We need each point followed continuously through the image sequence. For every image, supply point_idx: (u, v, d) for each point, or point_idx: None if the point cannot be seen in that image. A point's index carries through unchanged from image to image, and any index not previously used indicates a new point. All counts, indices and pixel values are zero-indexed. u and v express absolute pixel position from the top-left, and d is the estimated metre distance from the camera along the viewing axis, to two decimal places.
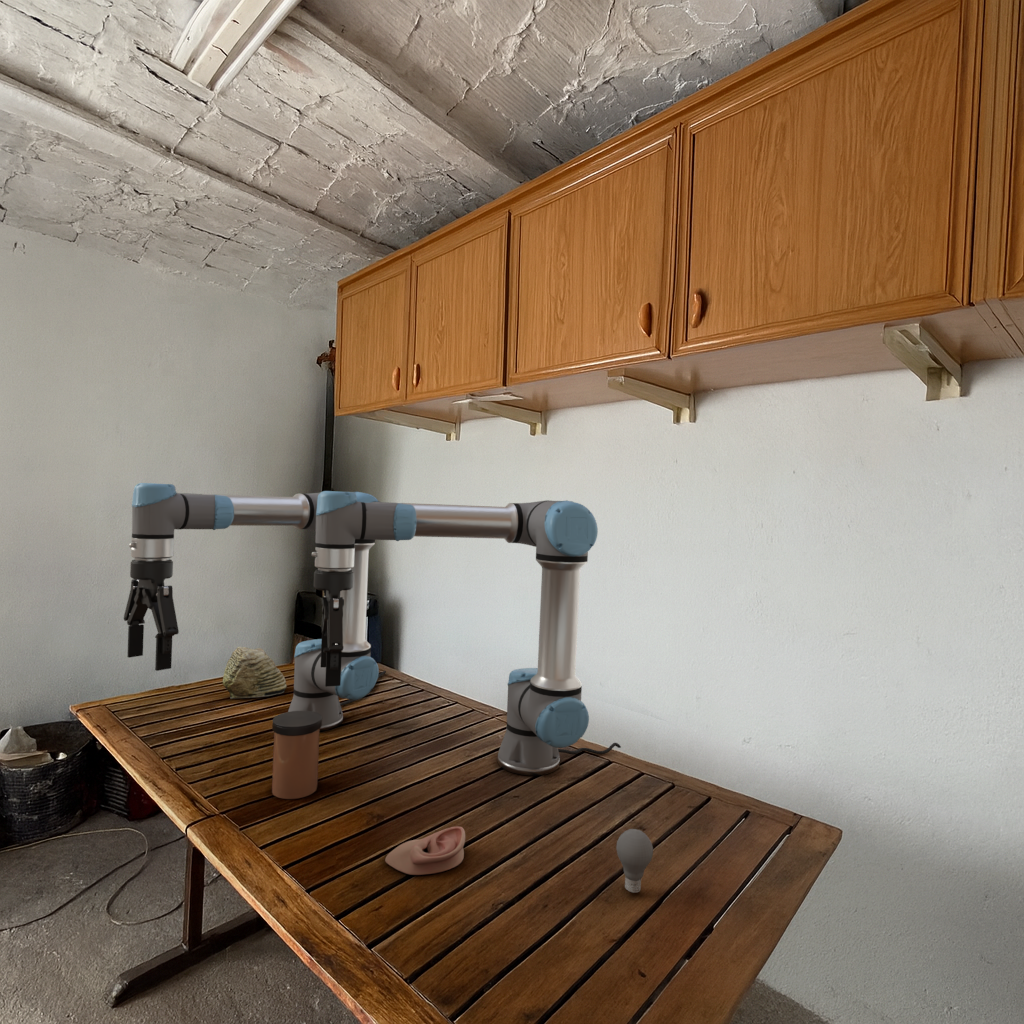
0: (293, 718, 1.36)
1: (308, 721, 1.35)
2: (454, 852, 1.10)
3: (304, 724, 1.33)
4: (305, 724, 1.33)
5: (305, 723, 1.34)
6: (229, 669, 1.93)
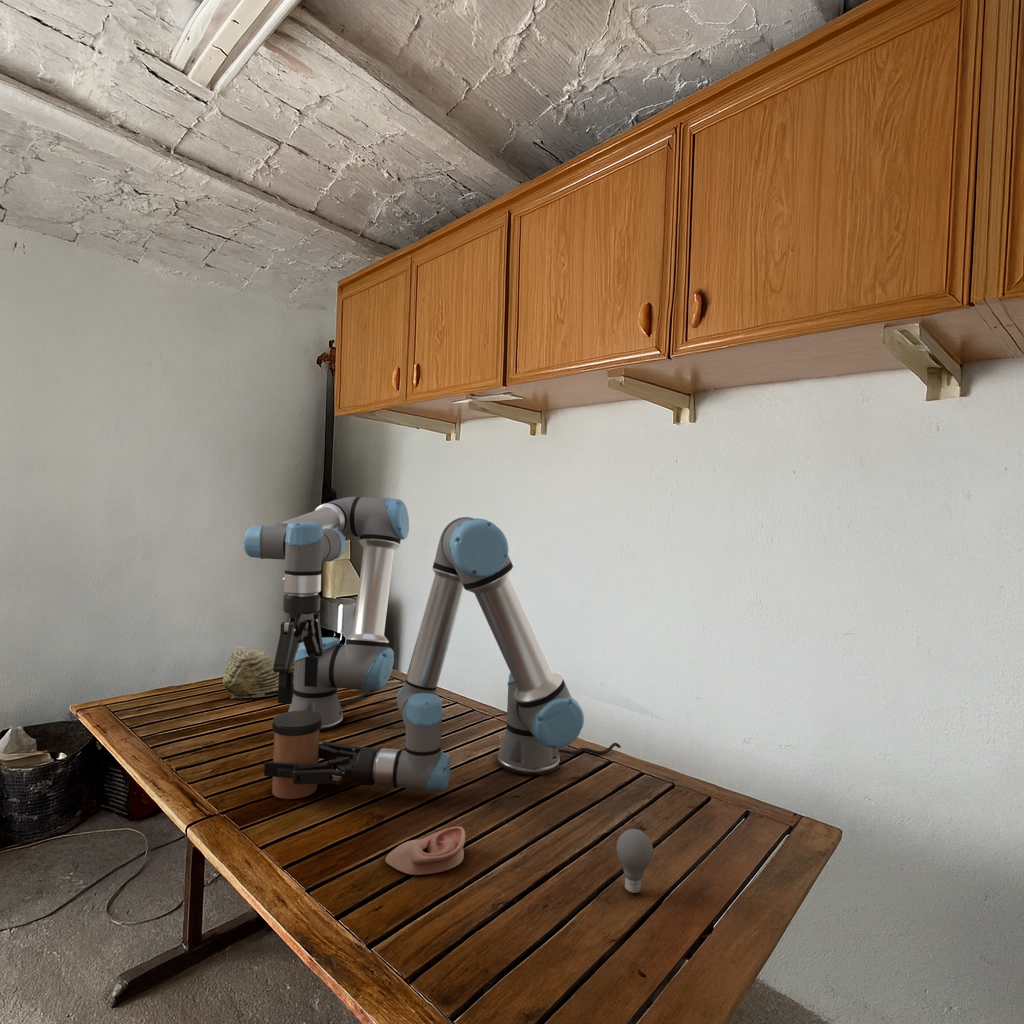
0: (293, 718, 1.36)
1: (308, 721, 1.35)
2: (454, 852, 1.10)
3: (304, 724, 1.33)
4: (305, 724, 1.33)
5: (305, 723, 1.34)
6: (229, 669, 1.93)
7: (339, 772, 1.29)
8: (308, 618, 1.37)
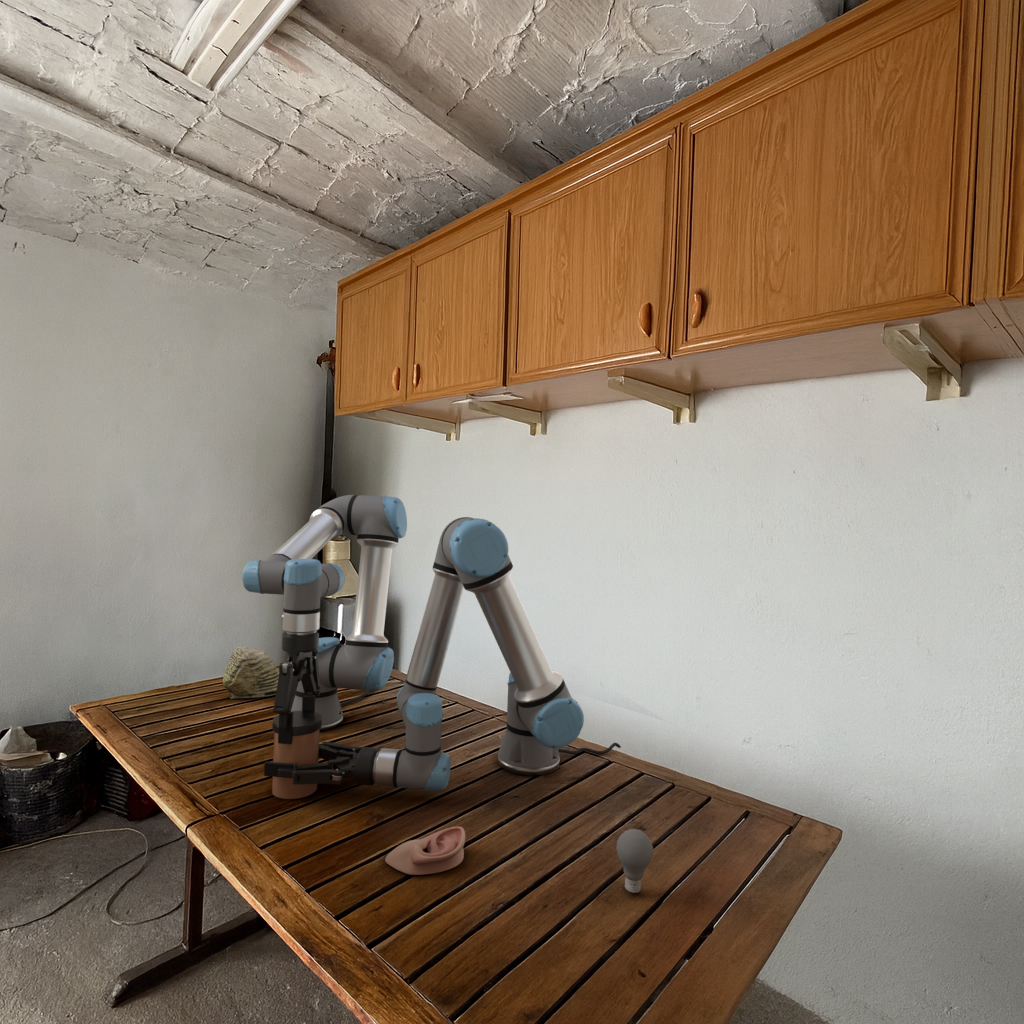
0: (293, 718, 1.36)
1: (308, 721, 1.35)
2: (454, 852, 1.10)
3: (304, 724, 1.33)
4: (305, 724, 1.33)
5: (305, 723, 1.34)
6: (229, 669, 1.93)
7: (339, 772, 1.29)
8: (307, 655, 1.37)
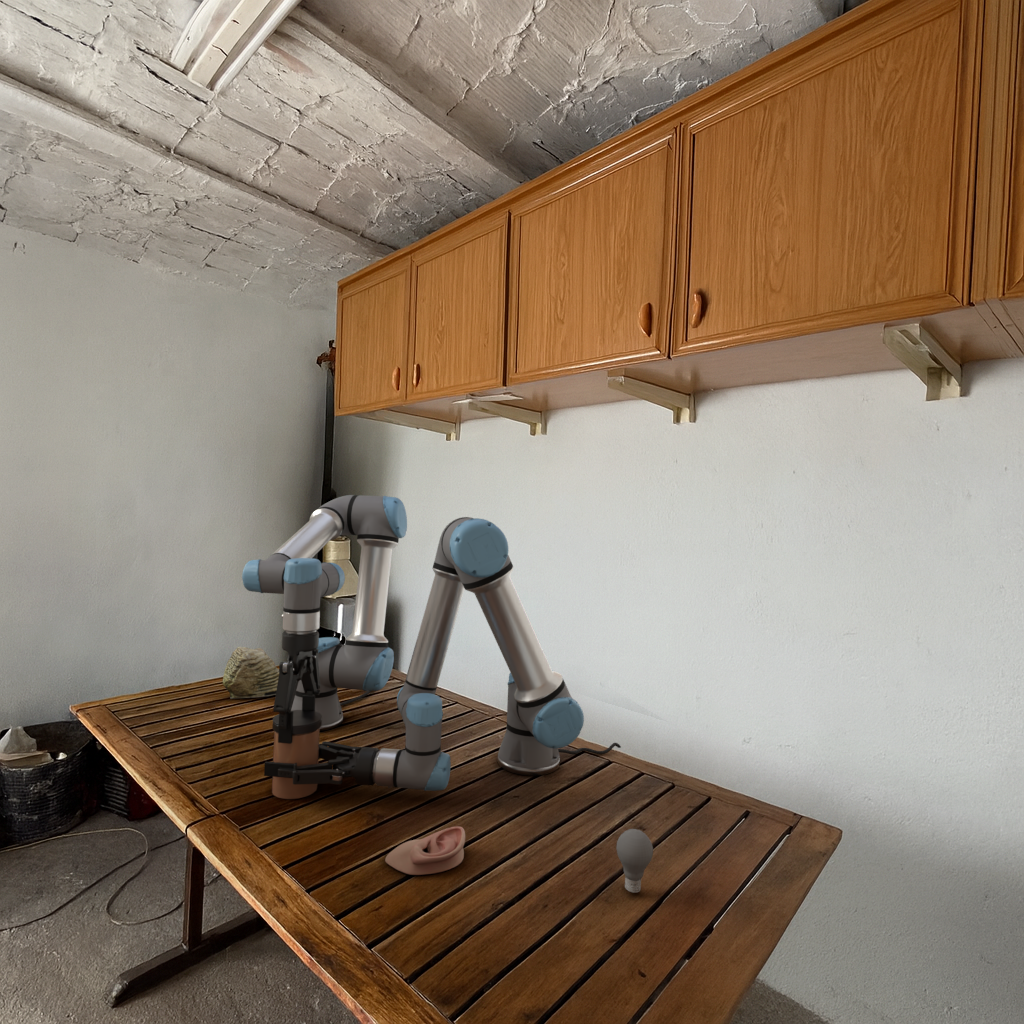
0: (295, 718, 1.36)
1: (312, 714, 1.39)
2: (454, 852, 1.10)
3: (318, 716, 1.38)
4: (318, 716, 1.38)
5: (316, 716, 1.38)
6: (229, 669, 1.93)
7: (339, 772, 1.29)
8: (307, 655, 1.37)
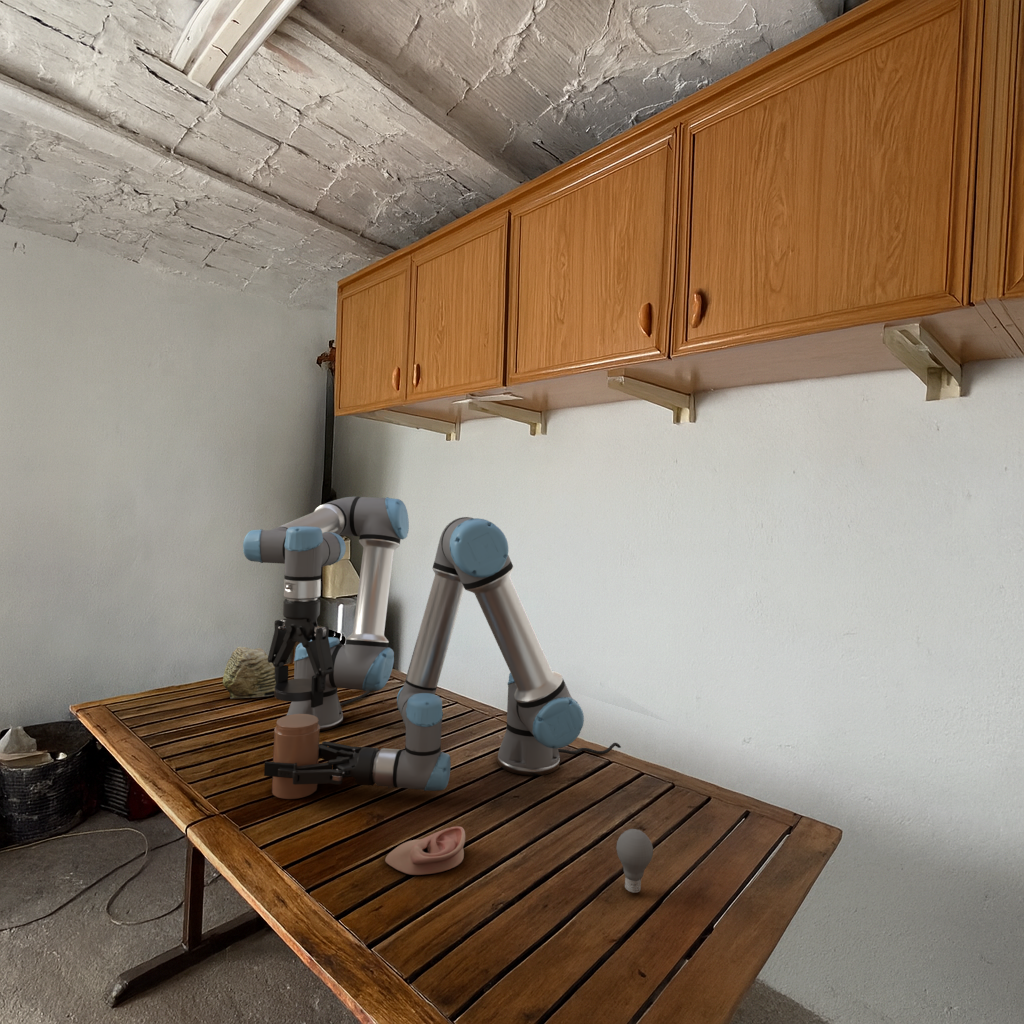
0: (301, 686, 1.36)
1: (299, 680, 1.40)
2: (454, 852, 1.10)
3: (307, 679, 1.41)
4: (307, 679, 1.41)
5: (305, 680, 1.41)
6: (229, 669, 1.93)
7: (339, 772, 1.29)
8: None
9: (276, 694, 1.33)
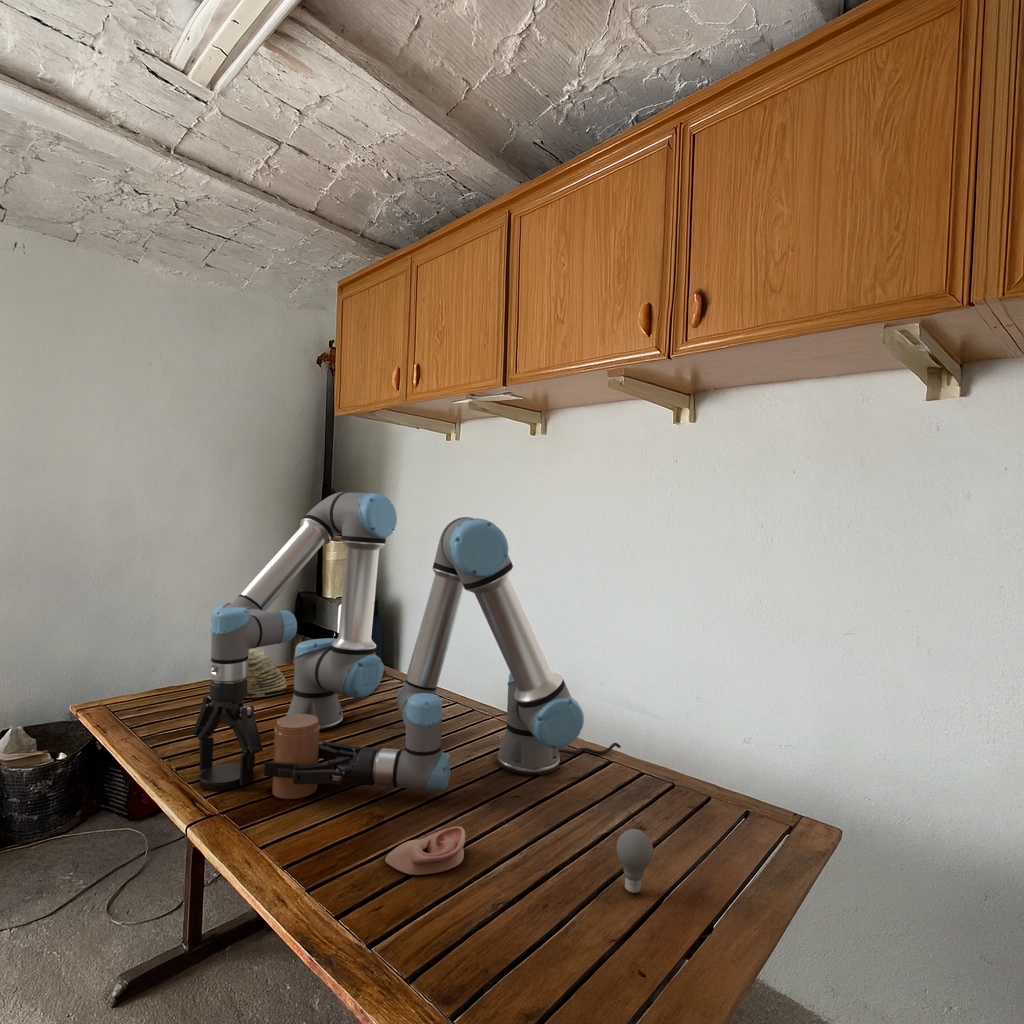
0: (227, 773, 1.39)
1: (227, 766, 1.42)
2: (454, 852, 1.10)
3: (235, 764, 1.43)
4: (235, 764, 1.43)
5: (233, 765, 1.43)
6: None
7: (339, 772, 1.29)
8: None
9: (200, 783, 1.36)
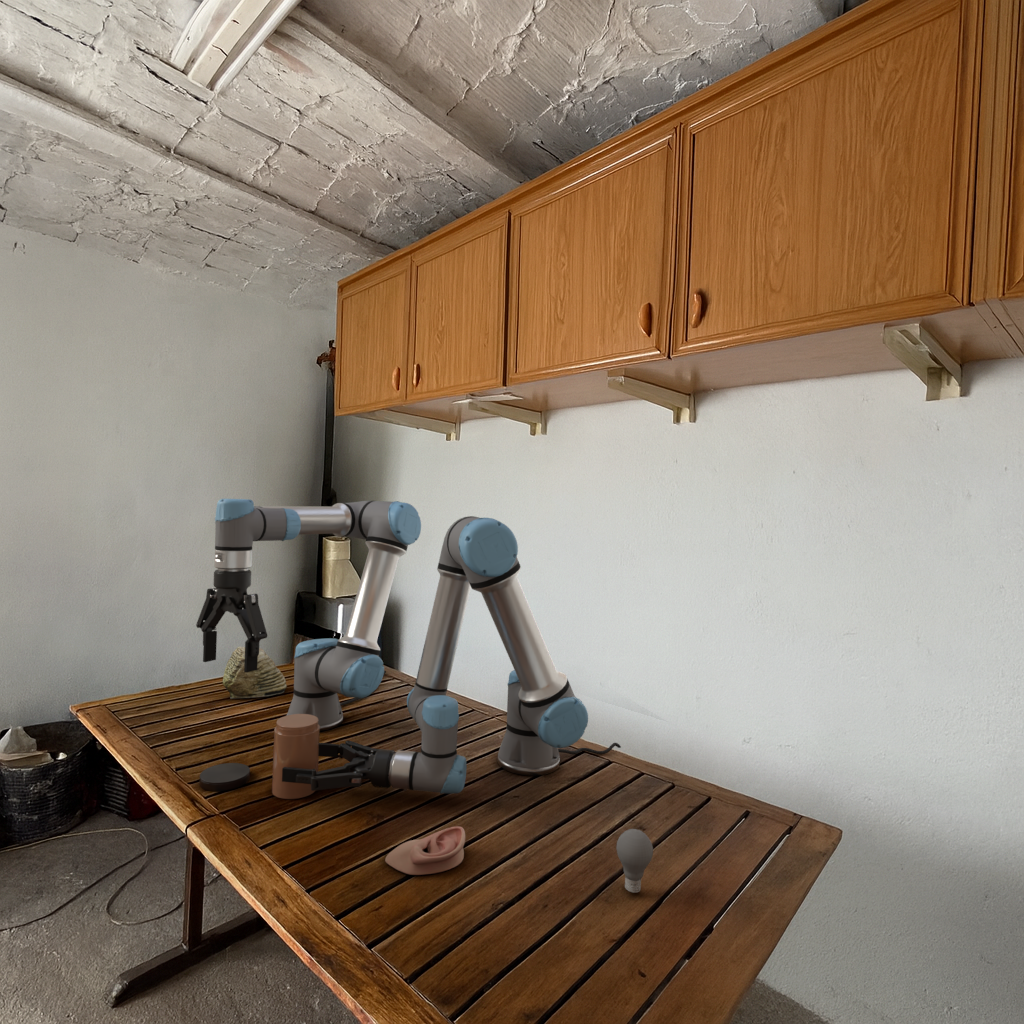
0: (227, 773, 1.39)
1: (227, 766, 1.42)
2: (454, 852, 1.10)
3: (235, 764, 1.43)
4: (235, 764, 1.43)
5: (233, 765, 1.43)
6: (229, 669, 1.93)
7: (359, 774, 1.29)
8: None
9: (200, 783, 1.36)
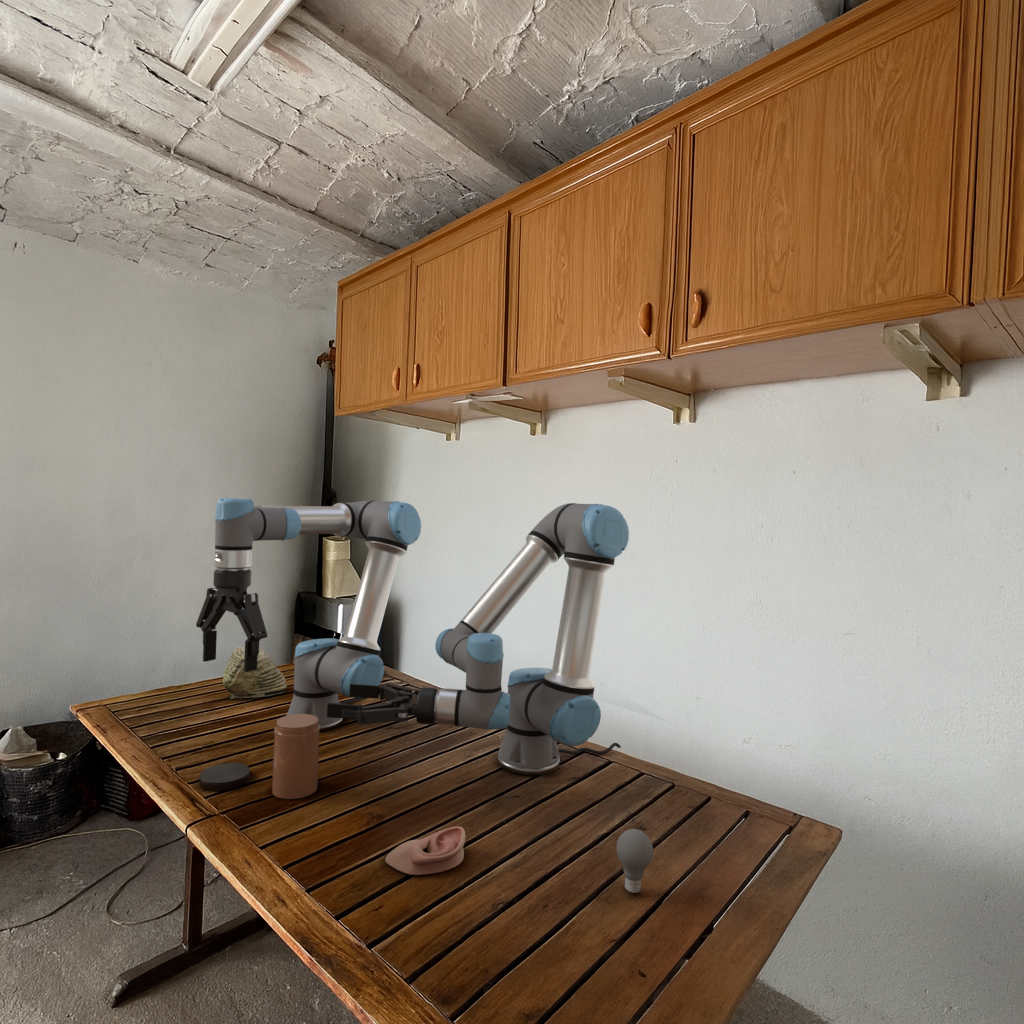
0: (227, 773, 1.39)
1: (227, 766, 1.42)
2: (454, 852, 1.10)
3: (235, 764, 1.43)
4: (235, 764, 1.43)
5: (233, 765, 1.43)
6: (229, 669, 1.93)
7: (405, 709, 1.28)
8: None
9: (200, 783, 1.36)
